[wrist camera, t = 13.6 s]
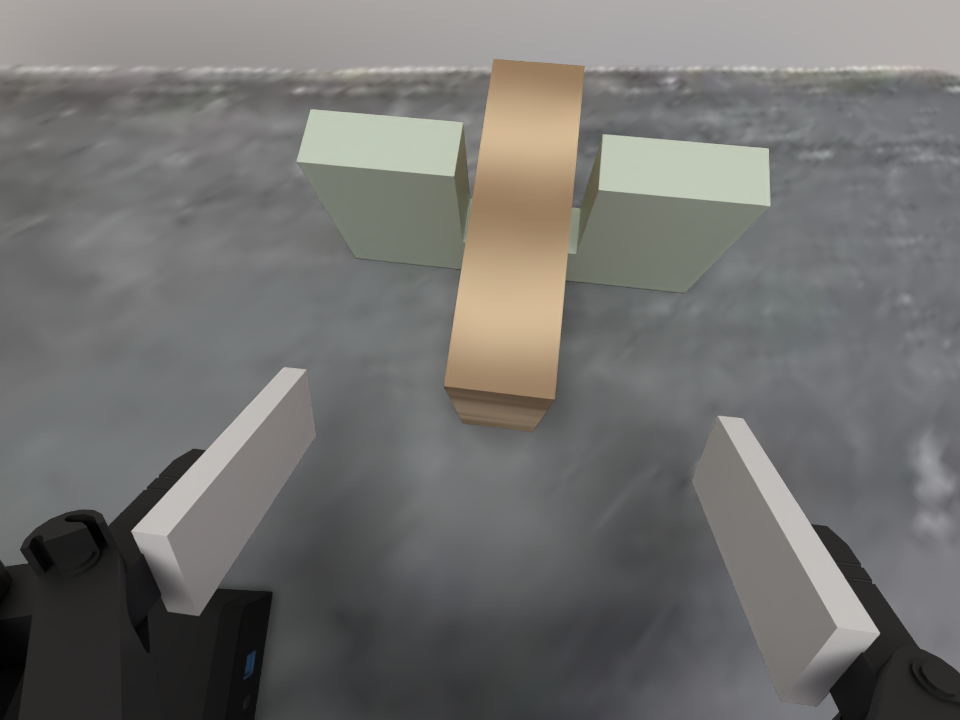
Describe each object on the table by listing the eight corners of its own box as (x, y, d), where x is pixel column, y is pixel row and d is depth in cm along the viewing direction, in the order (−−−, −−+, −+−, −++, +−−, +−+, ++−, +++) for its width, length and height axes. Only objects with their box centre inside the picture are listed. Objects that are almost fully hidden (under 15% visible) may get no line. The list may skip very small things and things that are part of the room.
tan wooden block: (532, 431, 23) (554, 399, 14) (462, 423, 23) (443, 385, 15) (555, 203, 26) (584, 65, 18) (494, 197, 27) (493, 59, 18)
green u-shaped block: (355, 258, 26) (296, 161, 18) (364, 218, 27) (310, 109, 19) (684, 293, 25) (770, 206, 17) (685, 250, 25) (768, 148, 18)
